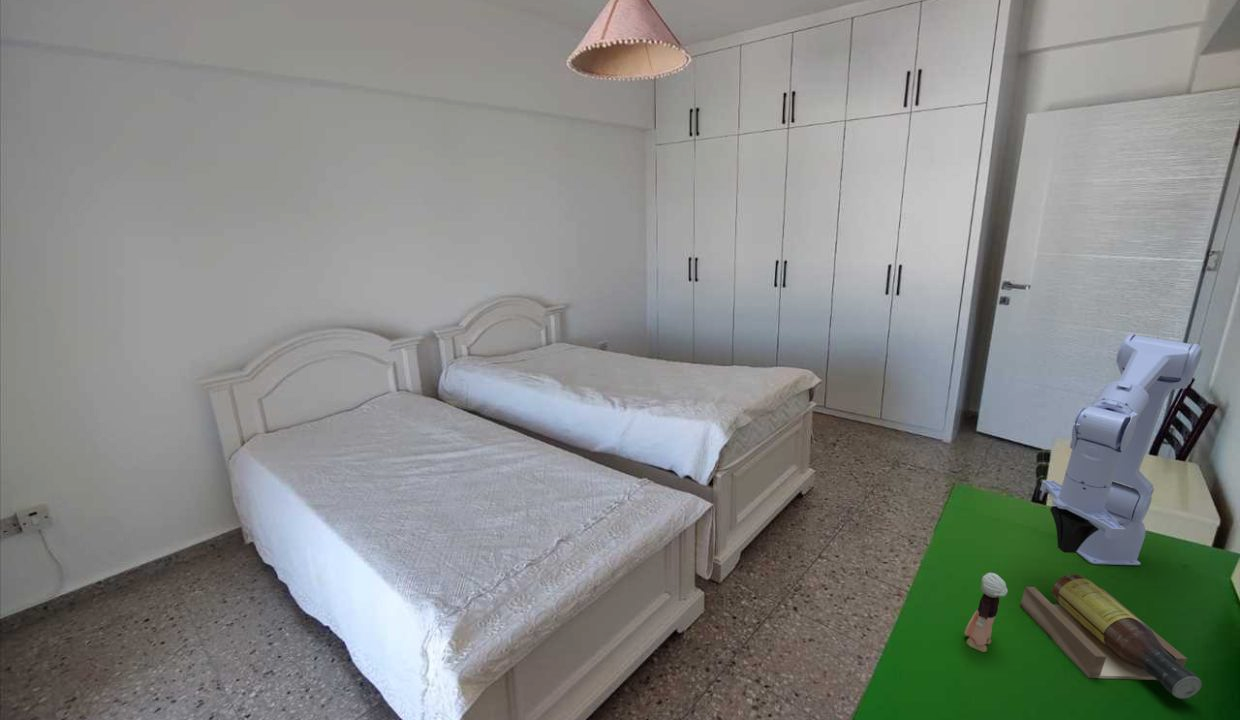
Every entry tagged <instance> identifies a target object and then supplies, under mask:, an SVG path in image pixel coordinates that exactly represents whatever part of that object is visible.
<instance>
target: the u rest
mask: <svg viewBox="0 0 1240 720" xmlns="http://www.w3.org/2000/svg"><path fill="white" fill-rule="evenodd" d="M1100 589H1101V590H1102V591H1104V592H1105V593H1106V594H1107V595H1109V596H1110V597H1111V598H1112V599H1114V600H1115V601H1116V602H1117V603H1118V604H1120V605H1121V606H1122V607H1123V608H1125V609H1126V610H1127V611H1128V612H1130V613H1131V614H1132V615H1134V616H1135V617H1136V618H1137V619H1139V620H1140V621H1141V622H1142V623H1144V624H1145V625H1146V626H1147V627H1148V628H1150V630H1151V631H1152V632H1153V634H1154V636H1155V637H1156V638H1157V640H1158V641H1159V642H1160V644H1161V645H1162V646H1163V648H1164V649H1165V651H1166V652H1167V653H1168V654H1169V655H1170V656H1172V658H1173V659H1174V660H1175V661H1177V662H1178V663H1179V664H1180V665H1182V666H1183V667H1184V668H1185V666H1186V663H1187V660H1188V658H1187V657H1186V656H1185V655H1183V654H1182V653H1181V652H1180V651H1179V650H1177V649H1176V648H1175V647H1173V646H1172V645H1171V644H1170V643H1169V642H1167V640H1165V639H1164V637H1161V636H1160V635H1159V634H1158V632H1155V631H1154V630H1153V629H1152V628H1151V627H1150V626H1148V625H1147V624H1146V623H1145V622H1144V621H1142V619H1140V618H1138V616H1136V615H1135V614H1134V613H1133V612H1132V611H1130V610H1129V609H1128V608H1127V607H1126V606H1125V605H1123V604H1122V603H1121V602H1120V601H1118V600H1117V599H1116V598H1115V597H1113V596H1112V595H1111V594H1110V593H1108V592H1107V591H1106V590H1105V589H1104V588H1100ZM1019 607H1021V608H1022V610H1023V612H1025V613H1026V614H1027V615H1028V616H1029V617H1030V618H1031V619H1032V620H1033V621H1034V622H1035V623H1036V624H1037V625H1038V626H1039V628H1040V629H1042V630H1043V632H1044V633H1045V634H1046V635H1047V636H1048V638H1050V639H1051V640H1052V641H1053V642H1054V643H1055V644H1056V645H1057V647H1059V649H1061V650H1062V652H1063V653H1064V654H1065V655H1066V656H1067V657H1068V658H1069V659H1070V660H1071V661H1072V662H1073V663H1074V664H1075V665H1076V666H1077V668H1079V669H1080V670H1081V672H1083V674H1084V675H1085V676H1086V677H1087V678H1089V679H1117V680H1118V679H1119V680H1150V681H1153V680H1155V681H1158V680H1157V679H1156V678H1155V677H1154V676H1153V675H1151V674H1150V673H1148V672H1147V671H1146V670H1145V669H1143V668H1141V667H1138V666H1135V665H1132V664H1131V663H1129V662H1127V661H1125V660H1123V659H1121V658H1120V657H1119V656H1118V655H1117V654H1116V653H1115V652H1114V651H1112V650H1111V649H1110V648H1108V647H1107V646H1106V645H1105V644H1104V643H1102V642H1101V641H1100V640H1099V639H1098V638H1097V637H1096V636H1095V635H1094V634H1093V633H1091V632H1090V631H1089V630H1088V629H1087V628H1086V627H1085V626H1084V625H1082V624H1081V623H1080V622H1079V621H1078V620H1077V619H1076V618H1075V617H1073V616H1072V615H1071V614H1070V613H1069V612H1068V611H1067V610H1066V609H1065V608H1063V607H1062V606H1061V605H1060V603H1059V604H1058V603H1057V604H1053V603H1052V602H1050V600H1049V599H1048V598H1047V597H1046V596H1044V594H1042V593H1041V591H1039V590H1038V589H1037V588H1036V587H1035V586H1025V588H1024V591H1023V594H1022V598H1021V601H1020V605H1019Z"/></svg>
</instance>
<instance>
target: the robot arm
mask: <svg viewBox="0 0 1240 720" xmlns="http://www.w3.org/2000/svg"><path fill="white" fill-rule="evenodd" d="M1200 345H1201V344H1198V343H1194V344H1193V343H1187V342H1180V341H1174V340H1167V339H1160V338H1155V337H1149V336H1143V335H1142V336H1141V335H1136V334H1133V333H1130V334H1128V335H1126V336H1125V337H1123V339H1122V341H1121V343H1120V345H1119V347H1118V348H1119V349H1118V351H1117V354H1116V358H1115V359H1116V364H1117V367H1118V370H1119V372H1120V378H1119V380H1114V381H1111V382H1109V383H1107V384H1106V385H1105V386H1104V387H1103V388H1102V390H1101V392H1099V394H1098V396H1097V397H1096V398H1095V400H1094V401H1093V402H1092V404H1091V405H1090V406H1089V405H1088V407H1087V408H1086V407H1084V406H1082V407H1081V408H1080V410H1079V411H1078V413H1077V414H1076V416H1075V418H1074V421H1073V424H1072V425H1073V426H1072V430H1071V442H1070V443H1069V448H1070V449H1071V453H1070V457H1069V460H1068V464H1067V467H1066V471H1065V473H1064V476H1063V477H1064V478H1063V481H1062V484H1060V483H1058V482H1056V481H1055V480H1042V482H1041V485H1040V489H1039V490H1040V491H1041V492H1042V493H1045V494H1046V493H1047V494H1049V495H1050V496H1052V498H1053V499H1052V502H1051V503H1052V504H1053V506H1051V507H1050V510H1049V511H1050V512H1051V514H1052V517H1053V520H1054V523H1055V529H1056V539H1057V549H1059V550H1060V551H1061V552H1062V553H1065V554H1066V553H1071V554H1072V553H1074V554H1076V553H1077V554H1078V555H1079V556H1081V557H1082V558H1083V559H1084V560H1085V561H1087V562H1089V563H1090V564H1091V565H1112V566H1113V565H1116V566H1118V565H1119V566H1140V565H1141V562H1140V561H1139V560H1138V558H1139V556H1140V552H1141V549H1142V547H1143V544H1144V540H1145V538H1146V534H1147V533H1146V526H1145V525H1144V523H1143V521H1144V520H1145V517H1146V515H1147V514H1148V511H1149V508H1150V505H1151V503H1152V499H1153V498H1152V496H1153V493H1154V490H1155V489H1154V484H1153V483H1152V482H1151V481H1150V480H1149V479H1148V478H1147V477H1146V476H1145V475H1144V474H1143V473H1142V472H1141V471H1140V470H1141V469H1140V468H1141V466H1142V463H1143V460H1144V458H1145V455H1146V453H1147V449H1148V447H1149V444H1150V441H1151V439H1152V436H1153V433H1154V431H1155V427H1156V425H1157V422H1158V420H1159V416H1160V415H1161V412H1162V408H1163V407H1164V406H1163V405H1164V403H1165V400H1166V399H1167V397H1168V396H1169V395H1170V393H1171V392H1172V391H1173V390H1179V389H1187V388H1188V387H1189V385H1191V383H1192V380H1193V378H1194V375H1195V373H1196V370H1197V368H1198V365H1199V363H1200V360H1201V357H1202V354H1203V353H1202V352H1203V348H1202V347H1201V346H1200Z"/></svg>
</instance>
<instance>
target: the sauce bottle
mask: <svg viewBox="0 0 1240 720" xmlns="http://www.w3.org/2000/svg"><path fill="white" fill-rule="evenodd" d="M1101 589H1102V588H1100V587H1098V586H1097V585H1096V584H1095V583H1094V582H1092V581H1091V580H1089V579H1087V578H1085V577H1084V576H1082V575H1080V574H1076V573H1075V574H1073V573H1072V574H1067V575H1063V576H1062V577H1060V578H1058V579H1057V581H1056V582H1055V584H1054V585H1053V586H1052V591H1051V593H1052V596H1053V598H1054V599H1055V601H1056V602H1058V603H1059V604H1060V605H1061V606H1062V607H1063V608H1065V609H1066V610H1067V611H1068V612H1069V613H1070V614H1071V615H1072V616H1073V617H1075V618H1076V619H1077V620H1078V621H1079V622H1080V623H1081V624H1082V625H1084V626H1085V627H1086V628H1087V629H1088V630H1089V631H1090V632H1091V633H1093V634H1094V635H1095V636H1096V637H1097V638H1098V639H1099V640H1100V641H1101V642H1102V643H1104V644H1105V645H1106V646H1107V647H1108V648H1110V649H1111V650H1112V651H1114V652H1115V653H1116V654H1117V655H1118V656H1119V657H1120V658H1121V659H1123V660H1125V661H1127V662H1129V663H1131V664H1132V665H1135V666H1138V667H1141V668H1143V669H1145V670H1146V671H1147V672H1148V673H1150V674H1151V675H1153V676H1154V677H1155V678H1156V679H1157V680H1156V681H1158V682H1159V683H1160V684H1162V685H1163V687H1164V689H1165V690H1166V691H1167V692H1168V693H1169V694H1171V695H1172V696H1173V697H1175V698H1178V699H1188V698H1191V697H1192V696H1195V694H1197V693H1198V692H1199V691H1200V690H1201V688H1202V681H1201V679H1200V677H1198V676H1197V675H1196V674H1195V673H1194V672H1192V671H1191V670H1189V669H1187V668H1186V667H1185V666H1184V667H1183V666H1182V665H1180V664H1179V663H1178V662H1177V661H1175V660H1174V659H1173V658H1172V656H1170V655H1169V654H1168V653H1167V652H1166V651H1165V649H1164V648H1163V646H1162V645H1161V644H1160V642H1159V641H1158V640H1157V638H1156V637H1155V636H1154V634H1153V632H1152V631H1151V630H1150V628H1151V627H1150V628H1148V627H1149V626H1148V625H1147V624H1146V623H1145V622H1143V621H1142V620H1141V619H1140V618H1139V619H1140V620H1141V621H1142V622H1143V623H1142V622H1141V621H1140V620H1139V619H1137V618H1138V617H1137V616H1136V615H1135V614H1134V615H1135V616H1136V617H1137V618H1136V617H1135V616H1134V615H1132V614H1131V613H1132V612H1131V611H1130V612H1131V613H1130V612H1128V611H1127V610H1126V609H1125V608H1126V607H1125V608H1123V607H1122V606H1121V605H1120V604H1118V603H1117V602H1116V601H1115V600H1114V599H1112V598H1111V597H1110V596H1109V595H1107V594H1106V593H1105V592H1104V591H1102V590H1101ZM1144 623H1145V624H1146V625H1147V626H1148V627H1147V626H1146V625H1145V624H1144Z"/></svg>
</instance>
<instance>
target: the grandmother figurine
mask: <svg viewBox="0 0 1240 720" xmlns="http://www.w3.org/2000/svg"><path fill="white" fill-rule="evenodd" d="M980 588H981V591H982V593H983V594H982V596H981V597H980V599H979V604H978V608H977V610H975V612H974V614H973V615H972V617H971V618H970V620H969V622H968V624H967V626H966V628H965V630H964V635H965V636H967V637H968V638H967V639H966V644H967V645H968V646H969V647H970V648H973V649H974V650H977V651H979V652H981V653H986V652H988V647H987V645H990V644H992V639H991V637H992V633H993V632H992V631H993V630H992V629H993V624H994V621H995V619H996V616H997V614H998V611H999V608H1000V605H999V604H1000V597H1005V596H1006V595H1008V592H1009V591H1008V588H1007V583H1006V582H1005V580H1004V579H1003V578H1001V576H999V575H998V574H997V573H994V572H987V573H986V574H984V575H983V576H982V578H981V585H980Z"/></svg>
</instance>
